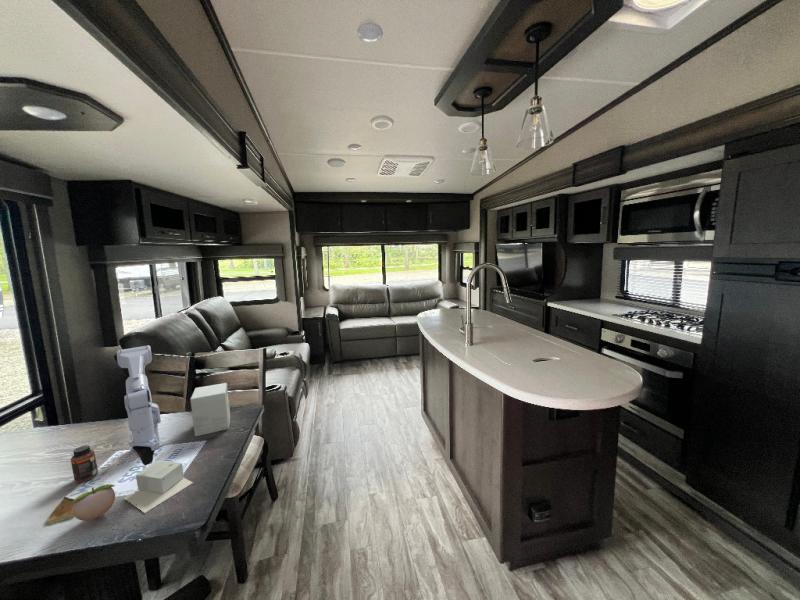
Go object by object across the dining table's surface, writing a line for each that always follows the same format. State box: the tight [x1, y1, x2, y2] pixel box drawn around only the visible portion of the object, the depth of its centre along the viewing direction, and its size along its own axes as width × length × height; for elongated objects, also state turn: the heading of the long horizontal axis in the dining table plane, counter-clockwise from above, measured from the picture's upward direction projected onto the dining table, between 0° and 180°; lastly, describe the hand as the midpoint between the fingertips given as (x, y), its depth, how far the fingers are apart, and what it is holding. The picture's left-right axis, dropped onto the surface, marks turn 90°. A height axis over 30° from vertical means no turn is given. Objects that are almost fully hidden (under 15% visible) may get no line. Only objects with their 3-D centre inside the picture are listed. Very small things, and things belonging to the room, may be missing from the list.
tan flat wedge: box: [46, 496, 75, 525], centre depth 97 cm, size 11×8×2 cm
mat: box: [123, 476, 194, 514], centre depth 103 cm, size 13×14×1 cm
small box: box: [135, 459, 185, 493], centre depth 105 cm, size 8×6×10 cm
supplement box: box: [190, 382, 231, 437], centre depth 141 cm, size 13×13×18 cm
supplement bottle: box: [70, 444, 99, 483], centre depth 109 cm, size 6×6×11 cm
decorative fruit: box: [71, 483, 116, 522], centre depth 92 cm, size 9×8×10 cm
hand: (147, 463), depth 104 cm, fingers closed
